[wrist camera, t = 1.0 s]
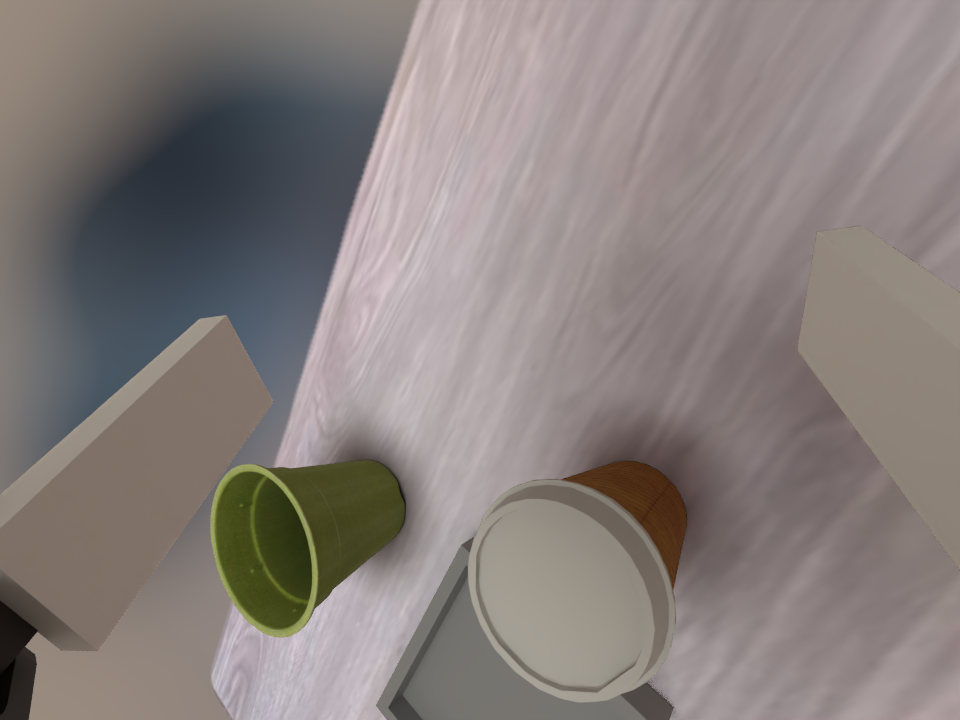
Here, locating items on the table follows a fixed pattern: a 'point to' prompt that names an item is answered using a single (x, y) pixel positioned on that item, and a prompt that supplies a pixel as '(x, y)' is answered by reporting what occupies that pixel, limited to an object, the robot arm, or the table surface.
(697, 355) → the table surface
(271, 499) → the plant pot
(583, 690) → the disposable coffee cup
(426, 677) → the serving tray
